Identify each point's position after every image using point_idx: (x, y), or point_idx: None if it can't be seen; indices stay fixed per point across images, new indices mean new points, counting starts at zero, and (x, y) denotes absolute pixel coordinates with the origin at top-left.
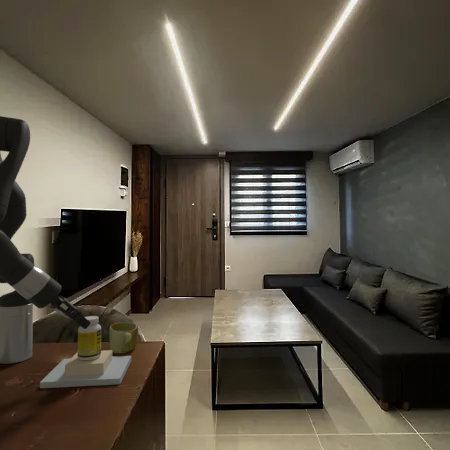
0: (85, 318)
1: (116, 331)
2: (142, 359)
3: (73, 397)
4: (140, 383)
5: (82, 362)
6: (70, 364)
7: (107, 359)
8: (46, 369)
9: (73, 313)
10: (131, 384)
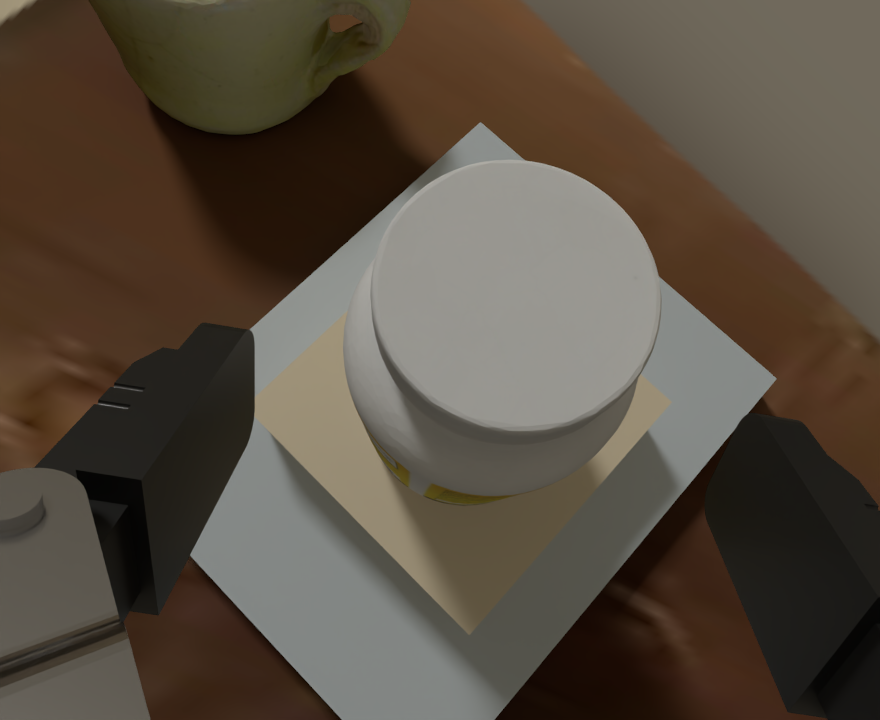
0: (857, 505)
1: (247, 4)
2: (515, 90)
3: (723, 675)
4: (827, 303)
5: (530, 505)
6: (494, 596)
7: None
8: None
9: (195, 447)
10: (803, 344)
